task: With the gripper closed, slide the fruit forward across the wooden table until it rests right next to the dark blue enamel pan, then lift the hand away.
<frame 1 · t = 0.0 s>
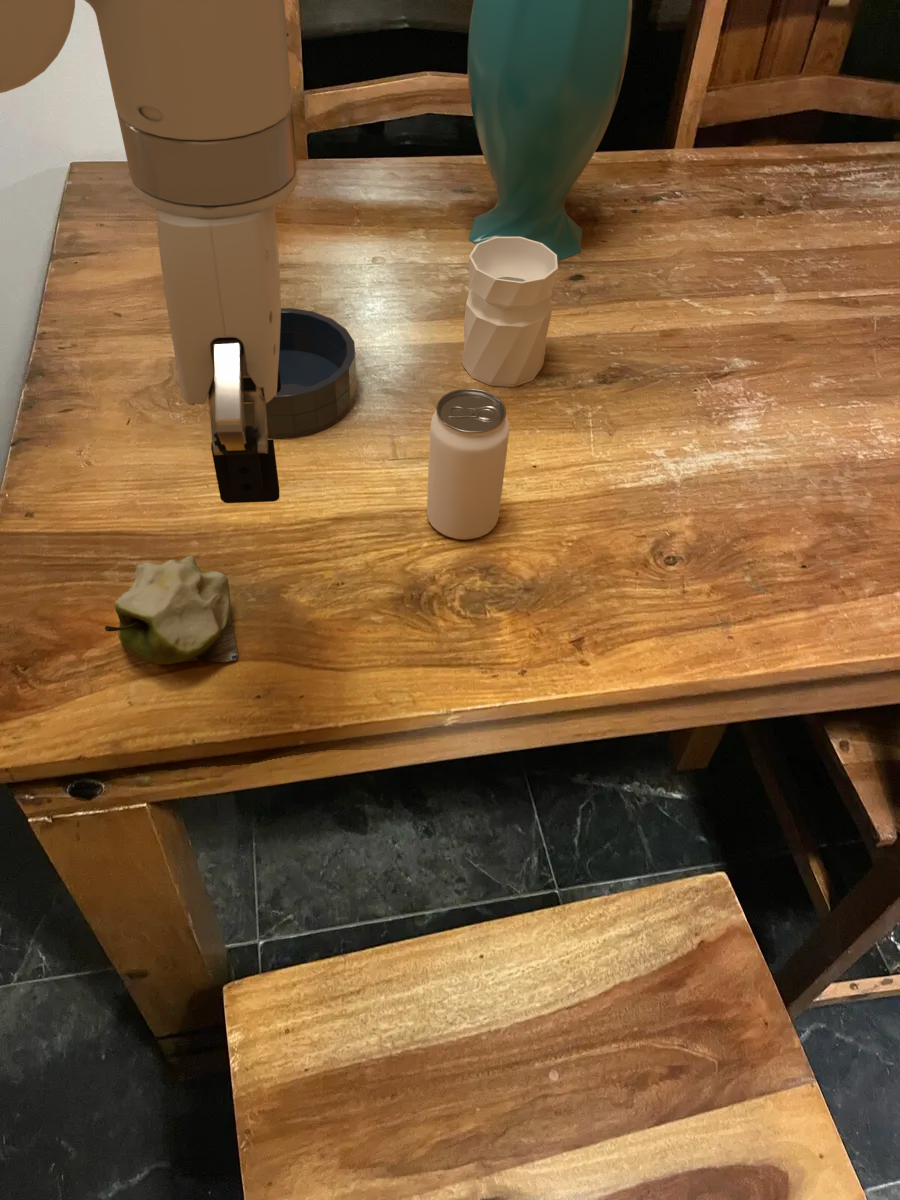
hand: (253, 442, 55), 22 cm above the table, tool pointing down, fingers open, 9 cm apart
vase 2: (502, 364, 100), on the table
fruit: (179, 637, 74), on the table
vase: (526, 235, 118), on the table
can: (462, 518, 84), on the table
pan: (283, 391, 94), on the table
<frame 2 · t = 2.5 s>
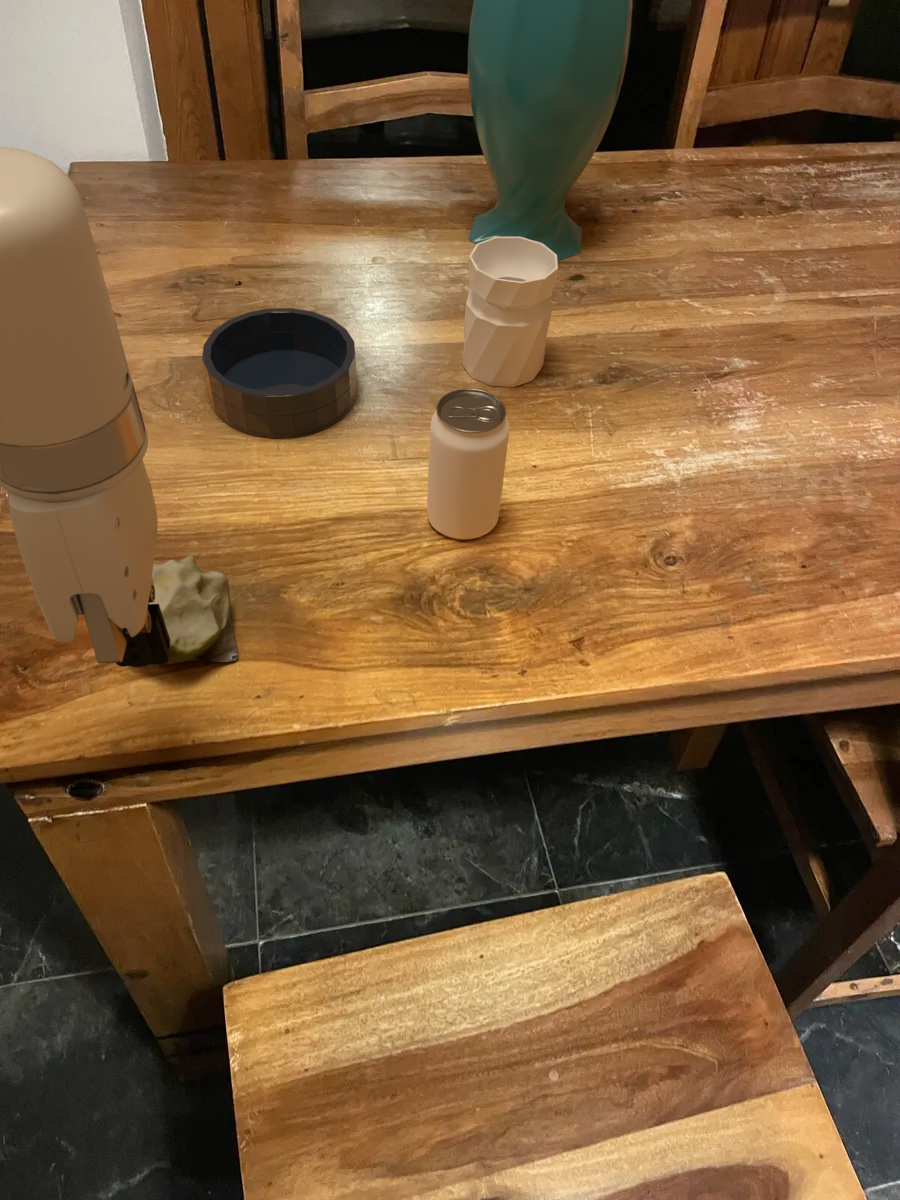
hand: (144, 654, 59), 11 cm above the table, tool pointing down, fingers closed
nothing on the table moved.
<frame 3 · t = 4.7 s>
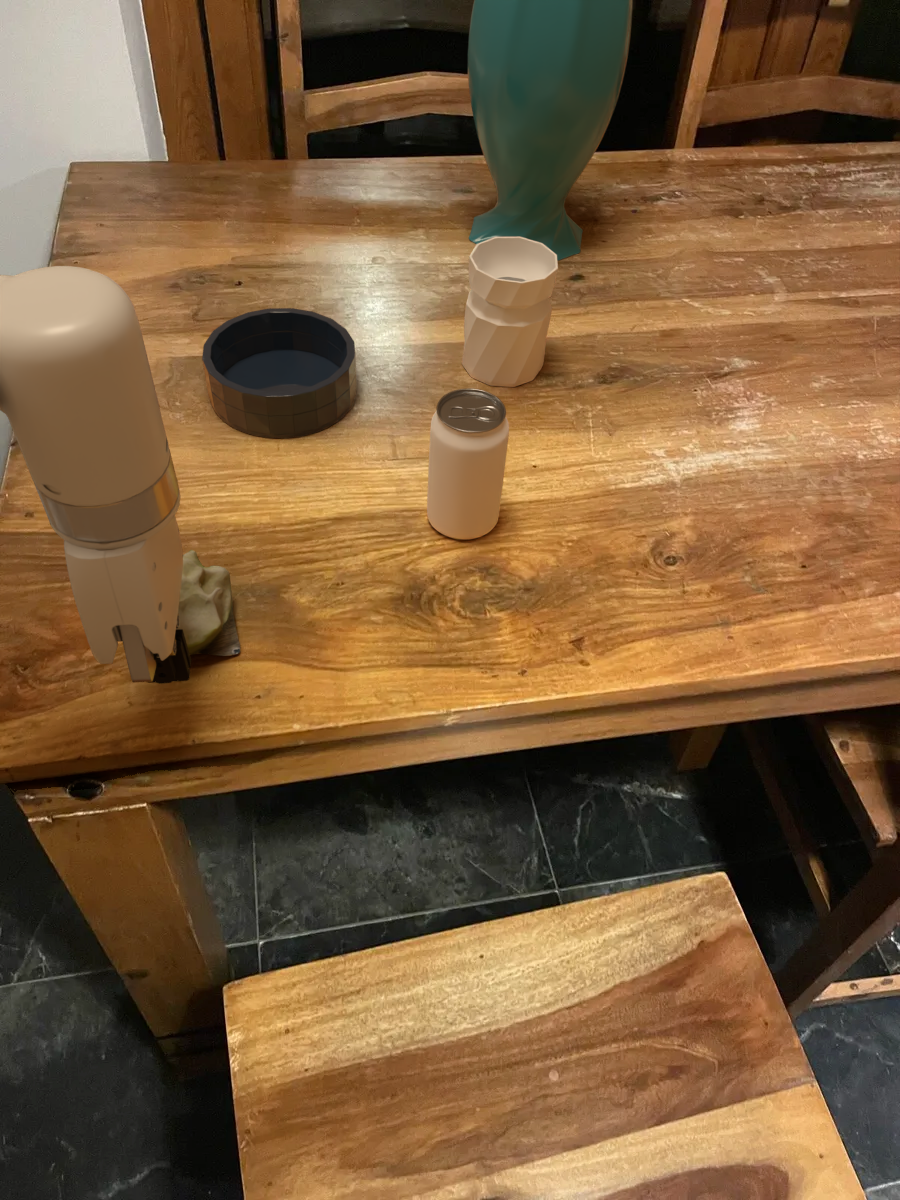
hand: (168, 672, 68), 3 cm above the table, tool pointing down, fingers closed
fruit: (181, 631, 74), on the table, touching gripper
everything else where it was.
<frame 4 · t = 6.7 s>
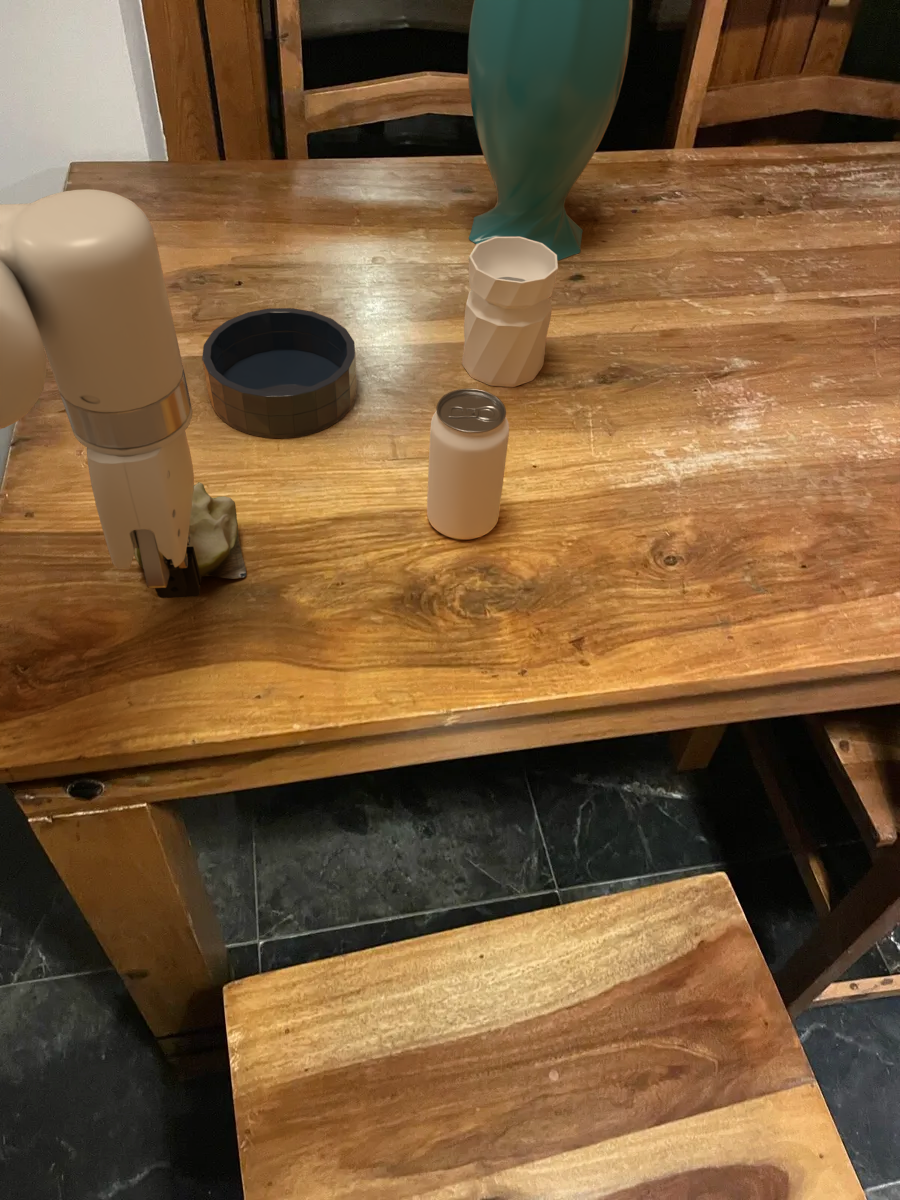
hand: (180, 589, 73), 3 cm above the table, tool pointing down, fingers closed
fruit: (190, 558, 79), on the table, touching gripper
everything else where it was.
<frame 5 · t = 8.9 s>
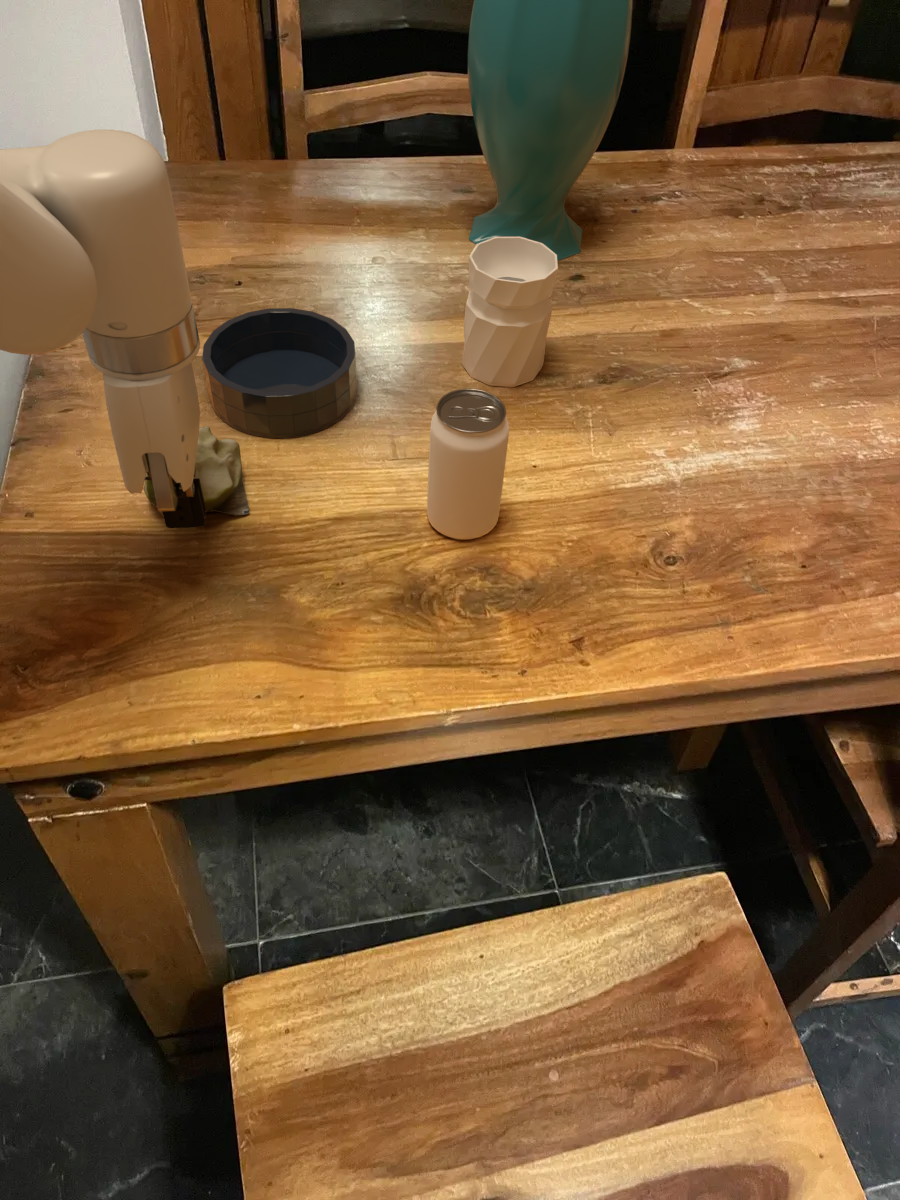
hand: (186, 520, 78), 3 cm above the table, tool pointing down, fingers closed
fruit: (197, 497, 84), on the table, touching gripper
everything else where it was.
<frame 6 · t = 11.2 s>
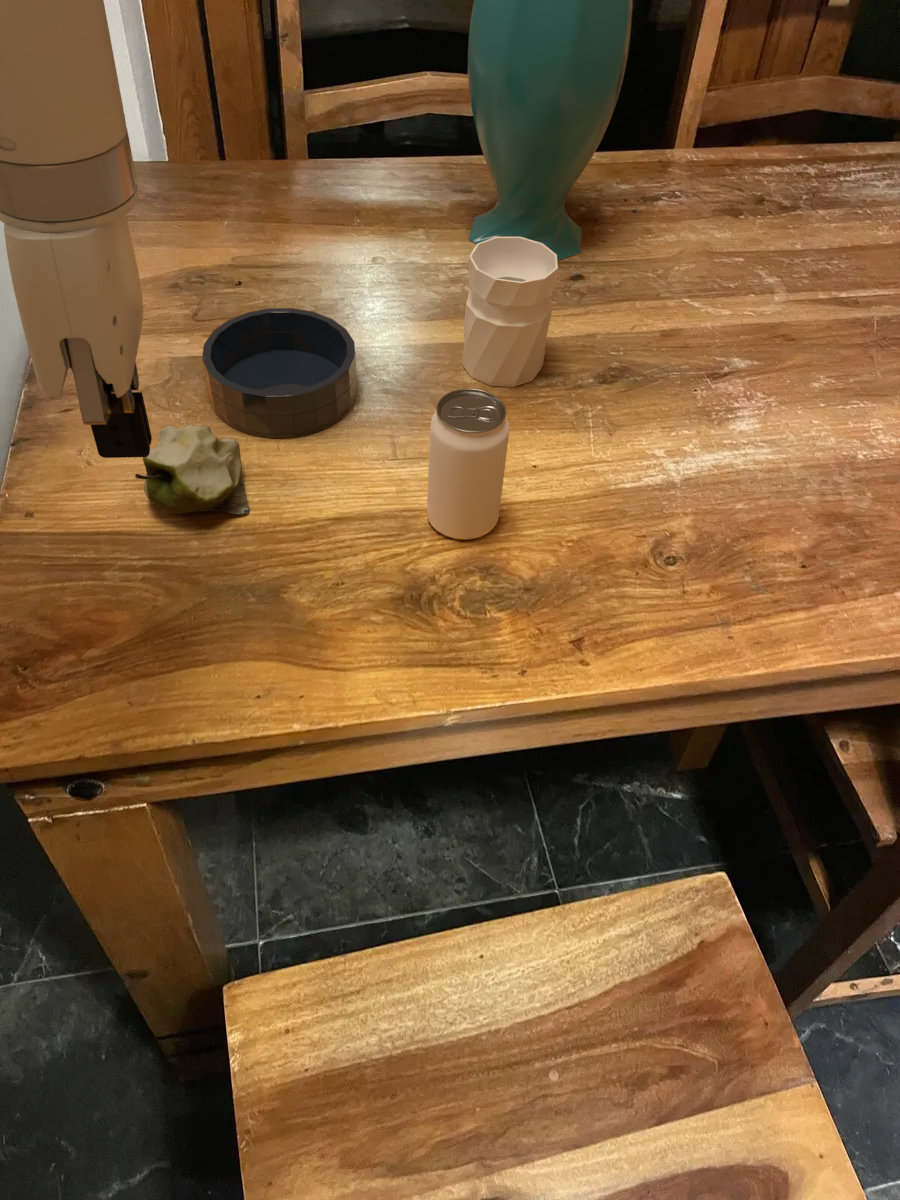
hand: (126, 449, 61), 18 cm above the table, tool pointing down, fingers closed
fruit: (196, 496, 84), on the table
everything else where it was.
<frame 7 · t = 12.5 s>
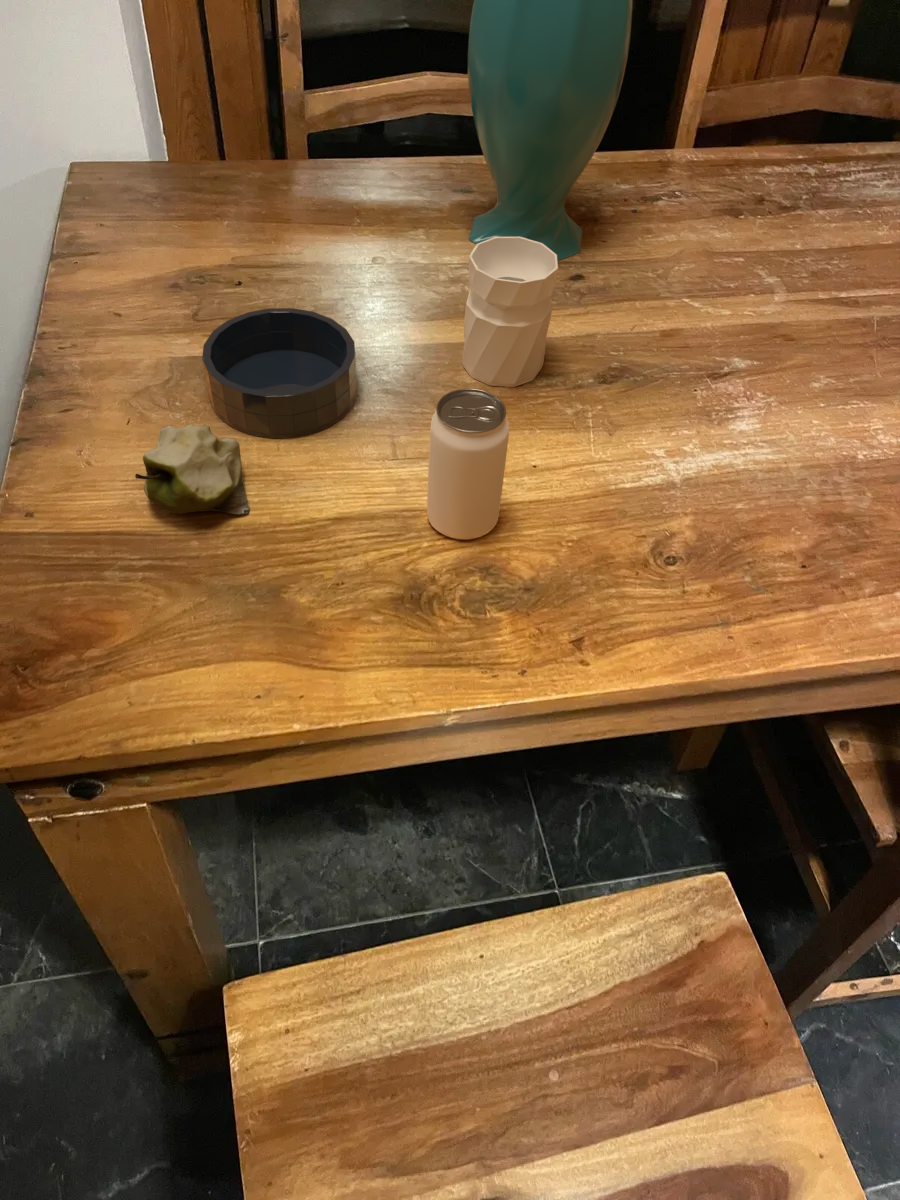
nothing on the table moved.
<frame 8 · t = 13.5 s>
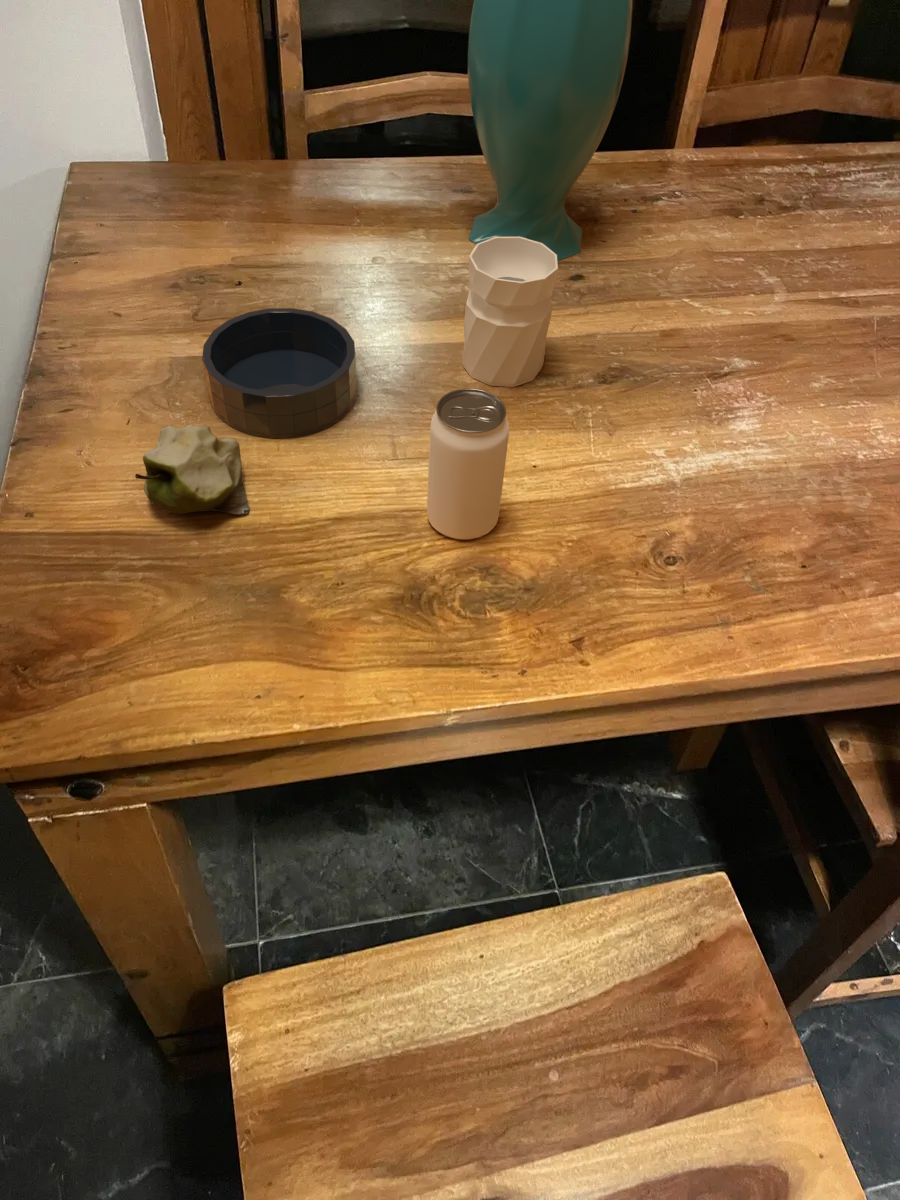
nothing on the table moved.
at the end: fruit inside the target area on the table beside the pan (0.4 cm from its centre), on the table; fruit 16.7 cm from the pan (horizontally); fruit moved 16.2 cm from its start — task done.
